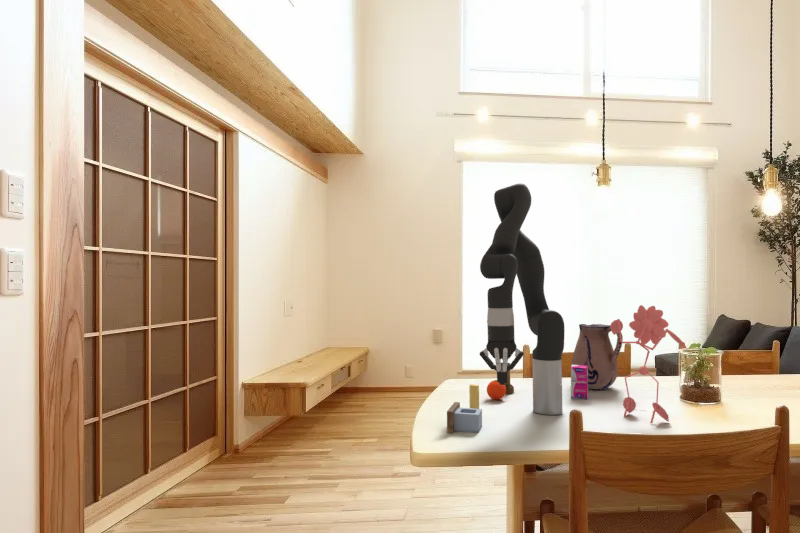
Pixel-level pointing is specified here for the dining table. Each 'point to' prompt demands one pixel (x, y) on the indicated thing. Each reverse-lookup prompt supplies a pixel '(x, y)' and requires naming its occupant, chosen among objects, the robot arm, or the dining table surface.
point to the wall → (451, 417)
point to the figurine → (646, 329)
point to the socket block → (468, 420)
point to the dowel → (474, 396)
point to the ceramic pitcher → (597, 355)
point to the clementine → (496, 390)
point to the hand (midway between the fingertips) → (502, 384)
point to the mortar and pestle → (508, 382)
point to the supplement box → (579, 381)
